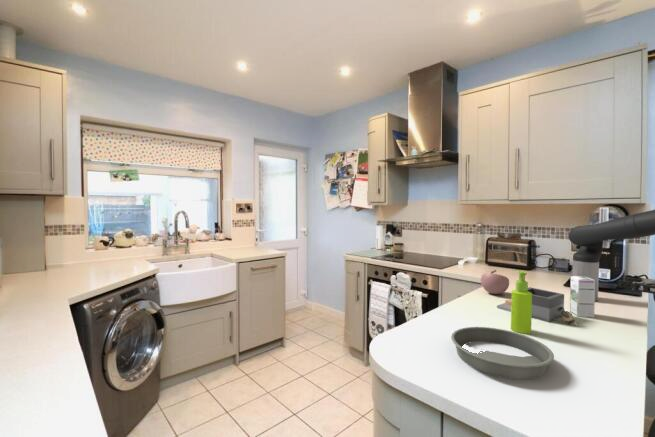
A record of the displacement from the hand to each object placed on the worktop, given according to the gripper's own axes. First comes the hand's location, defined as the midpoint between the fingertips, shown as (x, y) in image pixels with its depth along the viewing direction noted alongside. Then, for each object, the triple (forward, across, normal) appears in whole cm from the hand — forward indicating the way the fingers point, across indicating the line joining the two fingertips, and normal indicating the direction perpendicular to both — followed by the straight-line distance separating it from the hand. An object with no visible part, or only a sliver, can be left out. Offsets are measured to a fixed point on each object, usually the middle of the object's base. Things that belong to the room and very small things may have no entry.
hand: (622, 281), depth 111 cm
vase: (+11, +16, +15) cm, 25 cm away
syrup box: (+12, 0, +15) cm, 19 cm away
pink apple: (+46, 0, +15) cm, 48 cm away
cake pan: (+10, +62, +16) cm, 65 cm away
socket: (+24, +14, +15) cm, 32 cm away
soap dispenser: (+17, +36, +15) cm, 42 cm away
